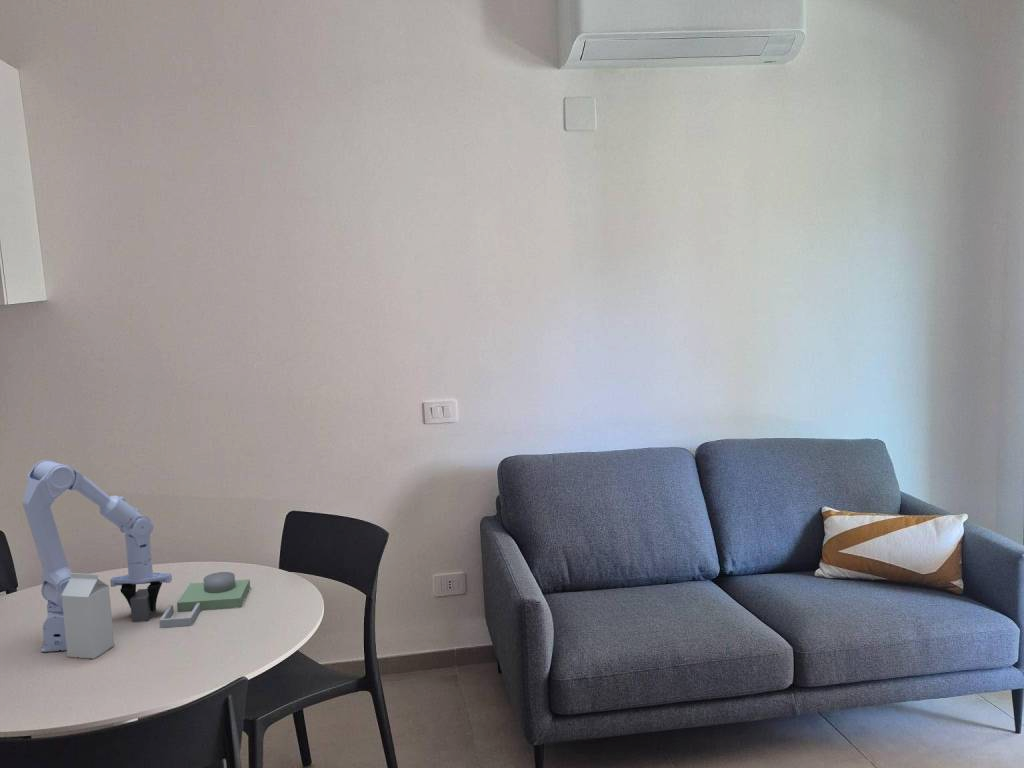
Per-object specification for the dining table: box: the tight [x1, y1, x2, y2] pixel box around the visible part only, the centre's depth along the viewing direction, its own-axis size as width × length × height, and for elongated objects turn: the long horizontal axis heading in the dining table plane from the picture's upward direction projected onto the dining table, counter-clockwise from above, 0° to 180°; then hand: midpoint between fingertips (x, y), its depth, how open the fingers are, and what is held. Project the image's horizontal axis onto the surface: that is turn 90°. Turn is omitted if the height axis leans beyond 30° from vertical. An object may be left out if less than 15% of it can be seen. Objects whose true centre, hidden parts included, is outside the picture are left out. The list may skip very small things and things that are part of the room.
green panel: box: [158, 571, 251, 629], centre depth 223 cm, size 24×18×6 cm
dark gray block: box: [129, 588, 157, 623], centre depth 218 cm, size 7×4×6 cm, turn 7°
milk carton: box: [61, 572, 115, 660], centre depth 197 cm, size 7×7×19 cm
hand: (143, 610), depth 219 cm, fingers closed on dark gray block, 4 cm apart
